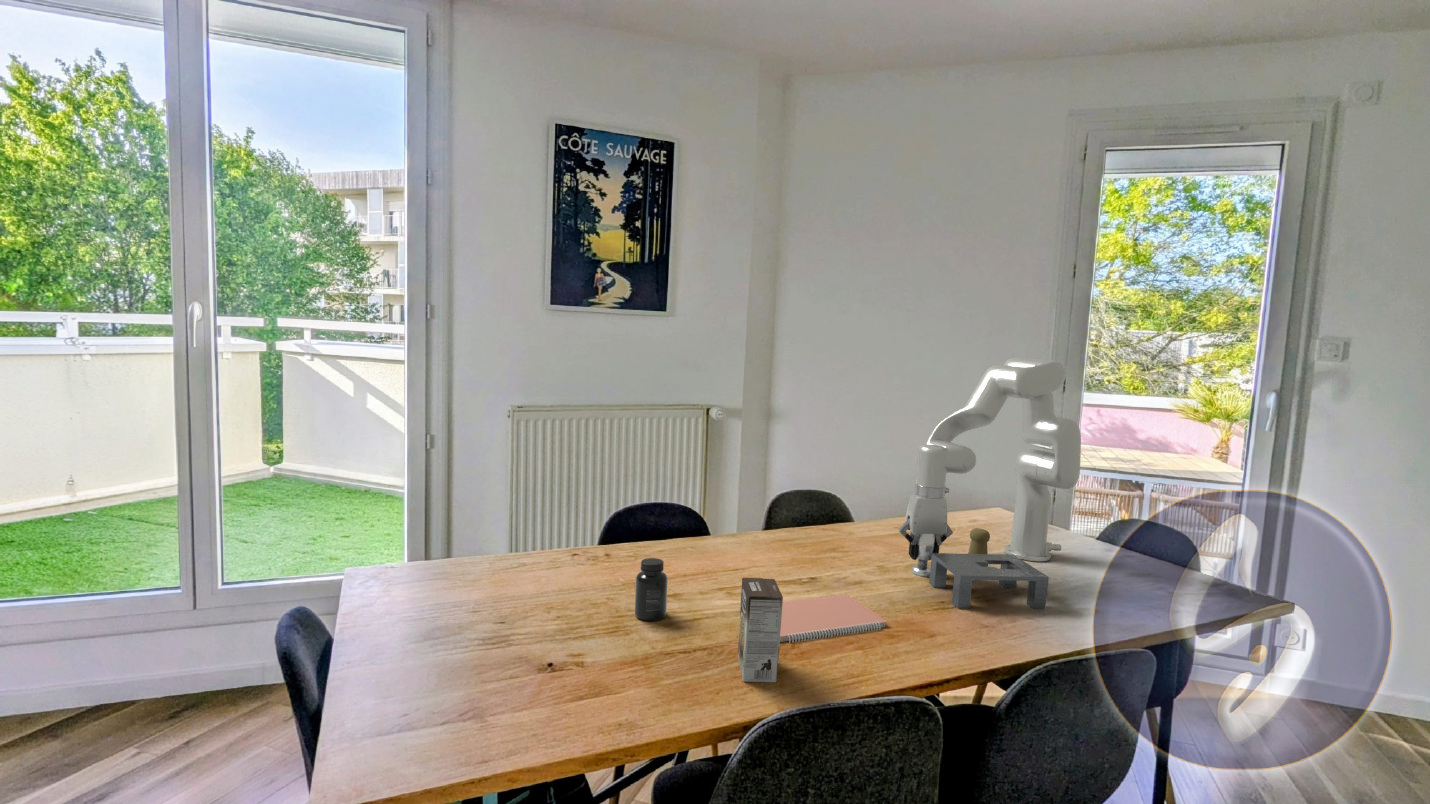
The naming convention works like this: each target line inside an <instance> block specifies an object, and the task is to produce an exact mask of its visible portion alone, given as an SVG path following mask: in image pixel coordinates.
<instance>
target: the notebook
mask: <svg viewBox="0 0 1430 804" xmlns="http://www.w3.org/2000/svg"><path fill="white" fill-rule="evenodd" d="M887 623H888V621H887V620H885V619H884V618H882V617H881V616H880V615H878V614H877V613H875V612H873V611H872V610H870V609H869V608H868V607H866V606H865V605H863V604H862V603H861V602H858V600H856V599H854V598H853V597H851V596H850V595H848V594H838V595H829V596H822V597H813V598H805V599H804V598H803V599H796V600H787V601H783V604H782V618H781V631H780V643H781V642H782V643H783V642H788V644H791V643H794V642H795V643H797V640H798V643H800V641H801V642H803V641H804V642H806V641H812V640H815V639H816V640H818V638H819V640H820V639H827V636H828V639H829V638H833V637H834V638H835V637H841V636H844V635H845V636H847V635H853V634H854V635H856V634H861V633H864V632H865V633H867V632H873V631H874V632H875V631H876V632H877V631H878V630H879V631H881V628H886V625H887ZM867 630H868V631H867ZM870 630H871V631H870ZM809 639H810V640H809ZM794 640H795V641H794ZM791 641H792V642H791Z"/></svg>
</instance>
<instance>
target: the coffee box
mask: <svg viewBox="0 0 1430 804" xmlns="http://www.w3.org/2000/svg"><path fill="white" fill-rule="evenodd" d="M783 602H784V597H783V595H782V591H781V590H780V588H779V586H778V583H777V581H776V579H775V578H764V577H763V578H762V577H742V578H741V595H740V609H739V610H740V611H739V614H740V615H739V627H738V629H739V630H738V646H737V647H738V648H737V662H738V665H739V670H740V674H741V678H742V682H744V683H745V682H746V683H776V682H777V679H778V668H779V667H778V666H779V665H778V664H779V653H780V643H781V642H780V631H781V618H782V604H783Z"/></svg>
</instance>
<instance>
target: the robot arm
mask: <svg viewBox="0 0 1430 804" xmlns="http://www.w3.org/2000/svg"><path fill="white" fill-rule="evenodd" d="M1066 376H1067V374H1066V368H1065V367H1064V365H1063V364H1062V363H1061V362H1059V361H1058V360H1053V359H1044V358H1035V357H1034V358H1033V357H1022V356H1021V357H1019V356H1018V357H1011V358H1008V359H1007V360H1006V361H1005V362H1004V363H1003V364H995V365H991V366H990V367H988V368H987V369H986V370H985V371H984V373H983V375H982V376H981V378H980V379H979V381H978V383H977V384H976V386H975V388H974V390H973V391H972V392H971V395H970V397H968V400H967V401H966V403H965V404H964V405H963V407H961V408H959V409H958V410H956V411H955V412H952V413H951V414H950V415H949V416H947V417H945V418H944V419H943V420H941V422H939V423H938V424H937V425H936V427H935V428H933V431H932V432H931V433H930V435H929V437H928V439H927V441H926V443H925V444H921V445H920V446H919V447H918V451H917V461H916V471H915V472H916V473H915V483H914V493H913V494H911V495H910V498H909V500H908V503H907V508H906V514H905V519H904V523H903V524H902V525H900V527H899V529H898V532H899V534H901V535H902V536H903V538H905V539H906V540H907V541H908V543H909V544H908V545H909V547H908V555H909V557H910V558H911V559H912V560H913V561H916V560H918V559H917V551H918V546H917V545H916V543H917V540H918V537H919V535H921V534H935V544H934V553H940V546H942V545H943V543H944V542H945V541H946V540H947V538H949V537H951V536H952V535H953V533H954V531H953V530H952V528H951V527H950V526H949V524H948V504H947V503H948V502H947V498H946V497H945V496H946V494H949V493H950V488H949V487H946V479H947V474H948V473H950V474H957V475H958V474H959V475H962V474H966V473H969V472H971V471H972V470H973V469H974V468H975V466H976V464H977V455H976V453H975V452H974V450H973V449H971V448H970V447H967V446H965V445H962V444H958V443H954V442H953V440H954V439H956V438H957V437H958V436H960V435H961V434H963V433H965V432H968V431H972V430H975V429H979V428H983V427H987V426H989V425H991V424H993V423H994V421H995V420H996V418H997V417H998V415H999V412H1000V411H1001V410H1002V408H1003V406H1004V405H1005V403H1006V401H1007V399H1009V398H1013V399H1014V398H1015V399H1020V403H1021V438H1022V440H1023V442H1024V443H1026V444H1027V445H1029V446H1033V447H1037V448H1042V449H1047V450H1050V451H1046V450H1039V449H1032V448H1031V449H1026V450H1023V451H1021V452H1020V453H1019V454H1018V455H1017V456H1016V460H1015V474H1016V475H1015V476H1016V490H1015V491H1016V492H1015V501H1014V513H1013V519H1012V520H1013V521H1012V527H1011V528H1012V531H1011V539H1010V544H1008V545H1005V546H1004V552H1005V553H1006V554H1008V555H1014V556H1016V557H1018V558H1019V559H1021V560H1022V561H1029V562H1046V561H1048V562H1049V560H1051V557H1052V554H1051V553H1050V552H1052V551H1056V552H1057V551H1058V552H1059V551H1062V549H1063V547H1062V545H1061V544H1060V543H1052V542H1050V541H1049V542H1048V541H1047V540H1048V529H1049V522H1050V513H1051V512H1050V511H1051V505H1052V497H1051V493H1050V489H1049V487H1051V488H1056V489H1060V490H1070V489H1072V488H1074V487H1075V486H1076V484H1077V483H1078V481H1079V479H1080V475H1081V453H1082V452H1081V451H1082V449H1081V448H1082V436H1081V435H1082V434H1081V433H1082V432H1081V430H1080V428H1079V425H1078V423H1076V422H1075V421H1074V420H1073V419H1071V418H1067V417H1066V418H1065V417H1061V416H1056V415H1055V404H1054V403H1055V400H1054V394H1053V392H1055V391H1057V390H1058V389H1060V388H1061V387H1062V386H1063V384H1064V382H1065V381H1066ZM1051 450H1052V451H1053V452H1051ZM907 531H910V533H908V532H907Z"/></svg>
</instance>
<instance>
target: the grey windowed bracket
mask: <svg viewBox="0 0 1430 804" xmlns="http://www.w3.org/2000/svg"><path fill="white" fill-rule="evenodd" d="M989 565H1000V568H999V569H998V568H997V567H995V566H989ZM981 566H988V567H981ZM930 568H931V569H930V577H929V581H928V583H929V585H931V586H932V588H934V589H937V588H938V589H939V588H941V589H942V588H943V589H944V588H945V589H946V584H947V574H948V571H949V572H950V573H951V574H952V575H954V576H953V577H954V578H953V587H952V598H951V605H953V606H954V607H955V606H956V607H957V608H956V607H955V608H956V609H959V610H960V608H961V609H962V610H963V609H965V610H967V609H969V610H970V608H971V597H972V588H973V581H998V585H999V586H1001V587H1002V588H1004V589H1005V590H1007V589H1009V590H1010V589H1011V590H1012V589H1013V590H1016V589H1017V582H1018V581H1020V582H1021V581H1022V582H1023V581H1026V582H1027V581H1028V587H1027V593H1026V594H1027V595H1026V606H1028V607H1029V608H1031V609H1033V610H1046V604H1047V598H1048V596H1047V595H1048V589H1049V586H1048V585H1049V579H1050V578H1049V576H1048V575H1047V574H1045V573H1043V572H1042V571H1040V570H1038V569H1037V568H1035V567H1034V566H1032V565H1031V564H1028V563H1027V562H1026V561H1025V560H1023V559H1019V558H1018V557H1016V556H1014V555H1008V554H1007V553H1006V554H1005V553H1004V554H1003V553H1002V554H1000V553H997V554H995V553H988V554H968V553H954V552H953V553H949V552H947V553H946V552H944V553H943V552H941V553H940V552H939V553H932V558H931V560H930Z"/></svg>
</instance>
